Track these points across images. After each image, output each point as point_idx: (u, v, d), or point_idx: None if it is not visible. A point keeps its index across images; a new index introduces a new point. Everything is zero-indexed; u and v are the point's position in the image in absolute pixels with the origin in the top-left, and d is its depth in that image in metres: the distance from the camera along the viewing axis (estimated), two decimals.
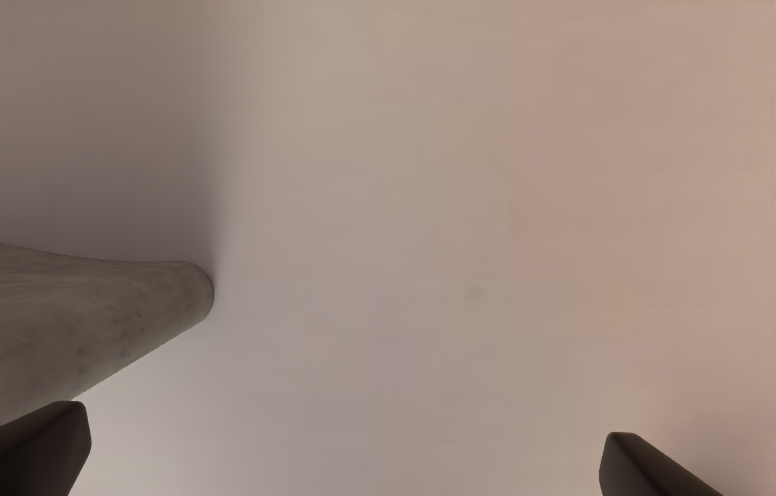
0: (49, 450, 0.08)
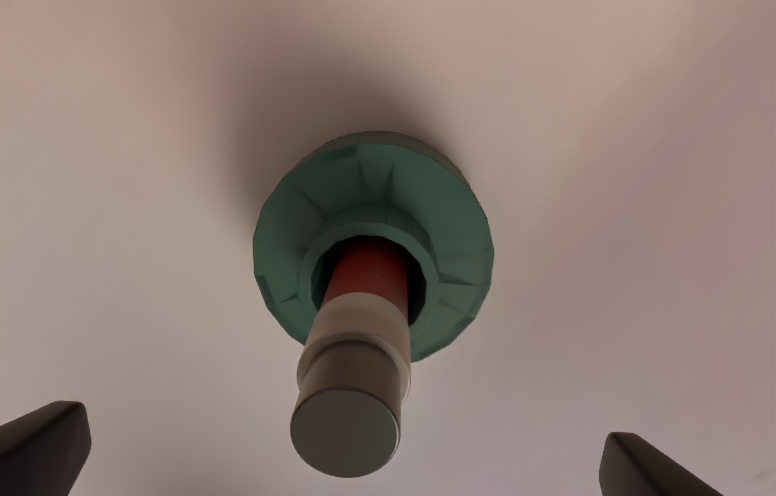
0: (49, 450, 0.08)
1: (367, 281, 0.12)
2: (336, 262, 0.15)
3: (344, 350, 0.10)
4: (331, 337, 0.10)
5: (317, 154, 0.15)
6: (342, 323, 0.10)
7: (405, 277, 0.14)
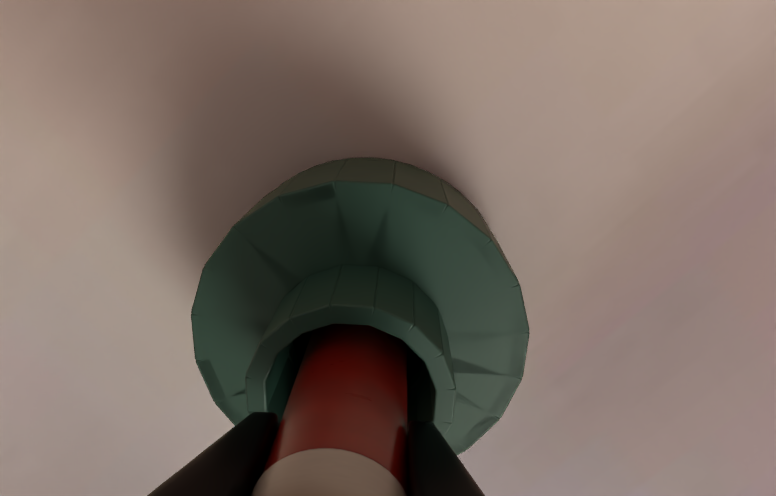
0: (264, 462, 0.08)
1: (343, 417, 0.08)
2: None
3: None
4: None
5: (278, 197, 0.11)
6: None
7: (404, 382, 0.10)
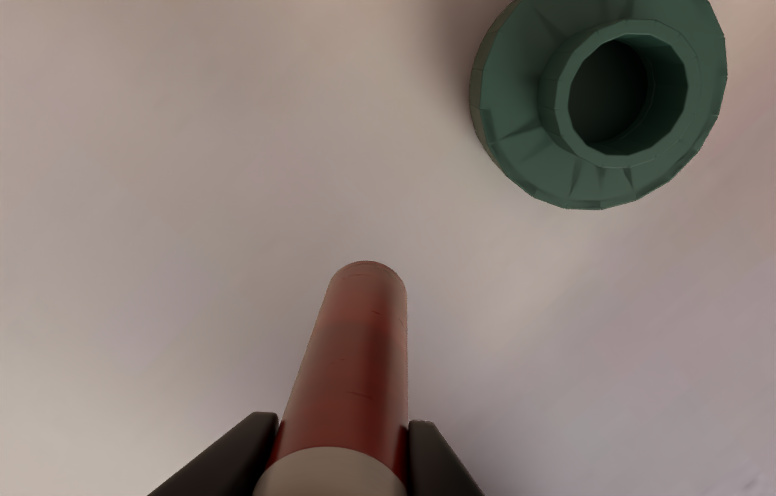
0: (264, 462, 0.08)
1: (344, 414, 0.08)
2: (305, 352, 0.10)
3: None
4: None
5: None
6: None
7: (405, 380, 0.10)
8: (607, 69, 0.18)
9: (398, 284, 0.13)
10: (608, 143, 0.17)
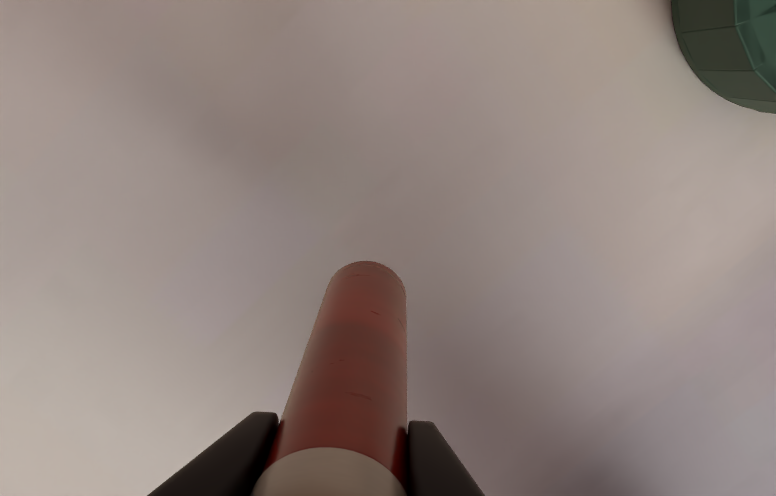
0: (263, 462, 0.08)
1: (343, 415, 0.08)
2: (304, 352, 0.10)
3: None
4: None
5: None
6: None
7: (404, 381, 0.10)
8: None
9: (398, 284, 0.13)
10: None
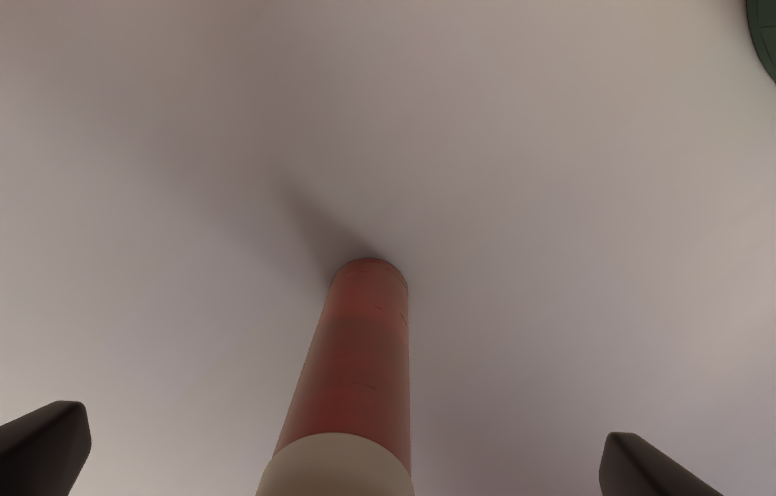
0: (49, 450, 0.08)
1: (348, 404, 0.08)
2: (310, 346, 0.11)
3: None
4: None
5: None
6: None
7: (406, 373, 0.10)
8: None
9: (400, 281, 0.14)
10: None
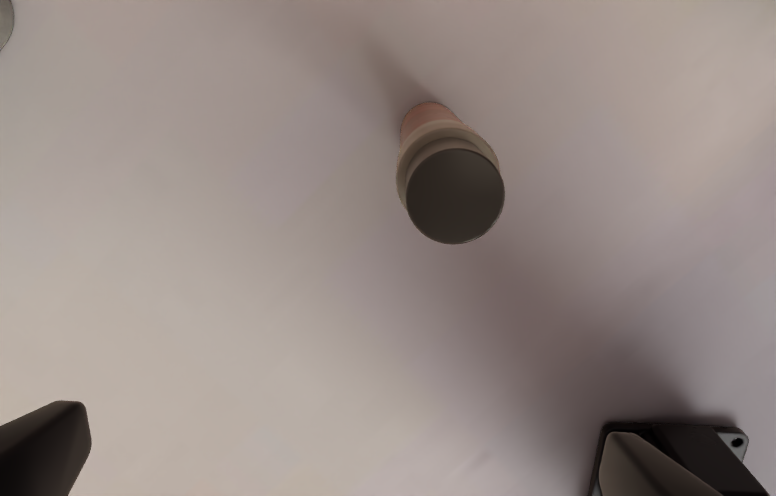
0: (49, 450, 0.08)
1: (446, 119, 0.13)
2: (403, 130, 0.16)
3: (445, 140, 0.11)
4: (430, 136, 0.11)
5: None
6: (438, 127, 0.11)
7: None
8: None
9: None
10: None
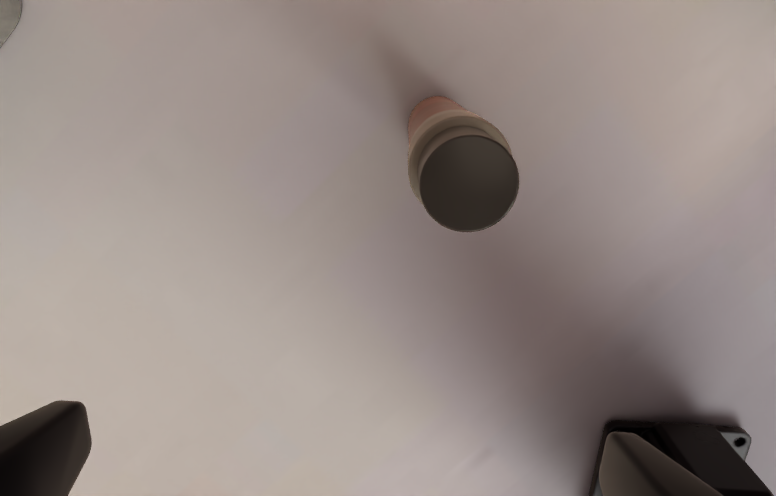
0: (49, 450, 0.08)
1: (457, 109, 0.13)
2: (412, 122, 0.16)
3: (459, 128, 0.11)
4: (443, 123, 0.11)
5: None
6: None
7: None
8: None
9: None
10: None
